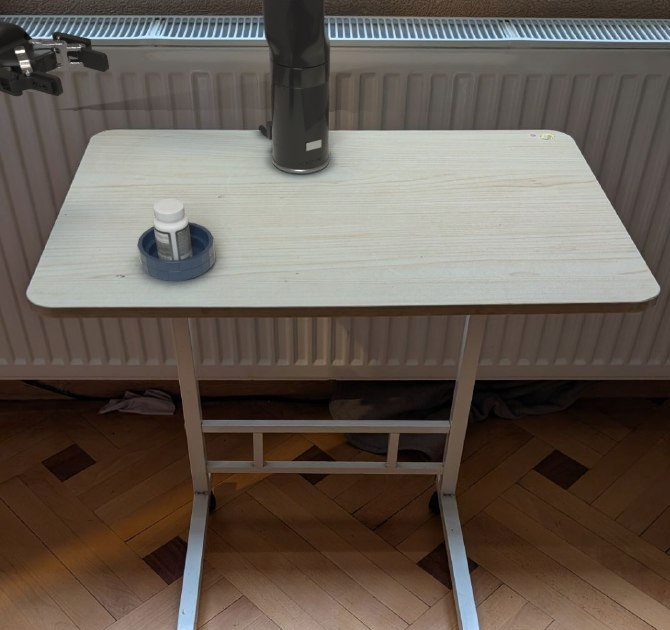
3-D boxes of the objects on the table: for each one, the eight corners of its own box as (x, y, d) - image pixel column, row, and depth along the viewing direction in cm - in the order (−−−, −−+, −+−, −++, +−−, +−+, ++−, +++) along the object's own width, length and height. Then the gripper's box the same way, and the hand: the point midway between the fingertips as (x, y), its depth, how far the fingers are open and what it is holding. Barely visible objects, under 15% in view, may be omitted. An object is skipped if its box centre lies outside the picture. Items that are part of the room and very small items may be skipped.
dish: (134, 250, 118) (130, 228, 115) (204, 237, 121) (202, 215, 118) (150, 290, 111) (146, 268, 109) (223, 275, 114) (222, 253, 112)
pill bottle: (190, 247, 118) (184, 194, 112) (195, 265, 114) (189, 212, 109) (156, 251, 117) (149, 198, 111) (160, 270, 113) (152, 216, 108)
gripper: (-65, 36, 101) (36, 64, 96) (19, 2, 110) (116, 25, 105) (-47, 96, 106) (50, 125, 101) (32, 58, 116) (125, 84, 110)
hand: (84, 74), depth 103 cm, fingers open, 8 cm apart
